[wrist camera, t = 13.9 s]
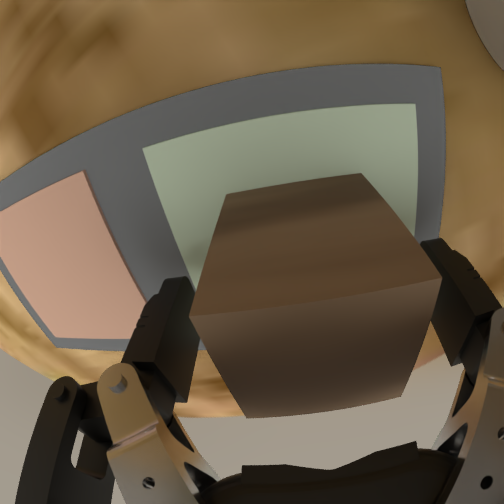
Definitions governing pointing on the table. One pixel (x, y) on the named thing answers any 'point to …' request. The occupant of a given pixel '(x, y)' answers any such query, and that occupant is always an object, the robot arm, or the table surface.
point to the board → (206, 184)
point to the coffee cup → (489, 25)
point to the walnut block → (313, 297)
